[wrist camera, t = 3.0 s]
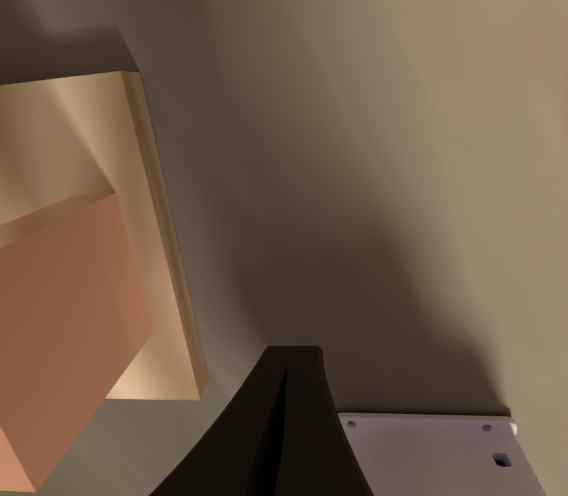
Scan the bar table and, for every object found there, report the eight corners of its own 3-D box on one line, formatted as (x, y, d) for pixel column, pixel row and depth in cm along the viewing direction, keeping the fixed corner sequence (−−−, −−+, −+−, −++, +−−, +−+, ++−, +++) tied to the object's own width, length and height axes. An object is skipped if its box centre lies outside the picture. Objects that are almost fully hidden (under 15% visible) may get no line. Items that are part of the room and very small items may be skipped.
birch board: (139, 72, 15) (120, 70, 14) (208, 380, 21) (199, 400, 20) (-143, 106, 17) (-185, 107, 16) (-6, 377, 23) (-27, 395, 22)
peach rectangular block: (116, 192, 15) (-76, 284, 8) (154, 330, 18) (35, 492, 11) (72, 195, 16) (-151, 286, 8) (116, 330, 18) (-25, 488, 11)
